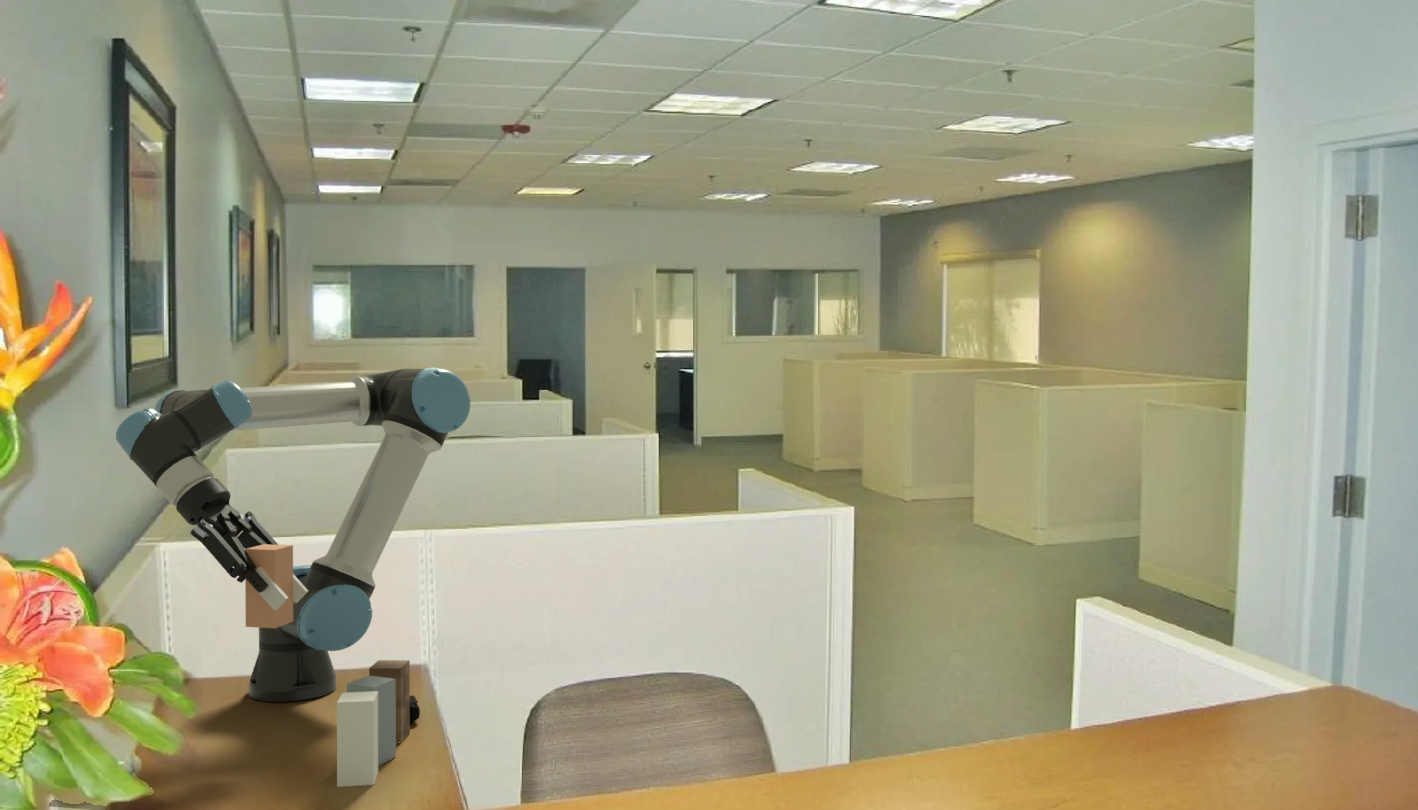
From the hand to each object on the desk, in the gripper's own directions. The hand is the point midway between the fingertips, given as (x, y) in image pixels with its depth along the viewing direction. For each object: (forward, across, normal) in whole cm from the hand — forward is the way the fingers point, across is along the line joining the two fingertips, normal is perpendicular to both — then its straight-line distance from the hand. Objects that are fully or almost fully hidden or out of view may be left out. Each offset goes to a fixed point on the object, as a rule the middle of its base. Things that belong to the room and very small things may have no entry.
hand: (291, 600), depth 173 cm
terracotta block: (0, 0, -5) cm, 5 cm away
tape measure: (+24, -18, -10) cm, 31 cm away
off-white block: (+28, +10, -5) cm, 30 cm away
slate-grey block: (+27, +2, -6) cm, 27 cm away
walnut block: (+25, -8, -8) cm, 28 cm away
